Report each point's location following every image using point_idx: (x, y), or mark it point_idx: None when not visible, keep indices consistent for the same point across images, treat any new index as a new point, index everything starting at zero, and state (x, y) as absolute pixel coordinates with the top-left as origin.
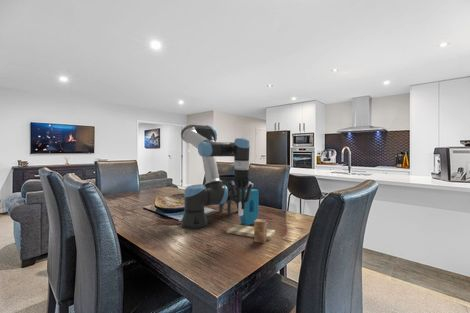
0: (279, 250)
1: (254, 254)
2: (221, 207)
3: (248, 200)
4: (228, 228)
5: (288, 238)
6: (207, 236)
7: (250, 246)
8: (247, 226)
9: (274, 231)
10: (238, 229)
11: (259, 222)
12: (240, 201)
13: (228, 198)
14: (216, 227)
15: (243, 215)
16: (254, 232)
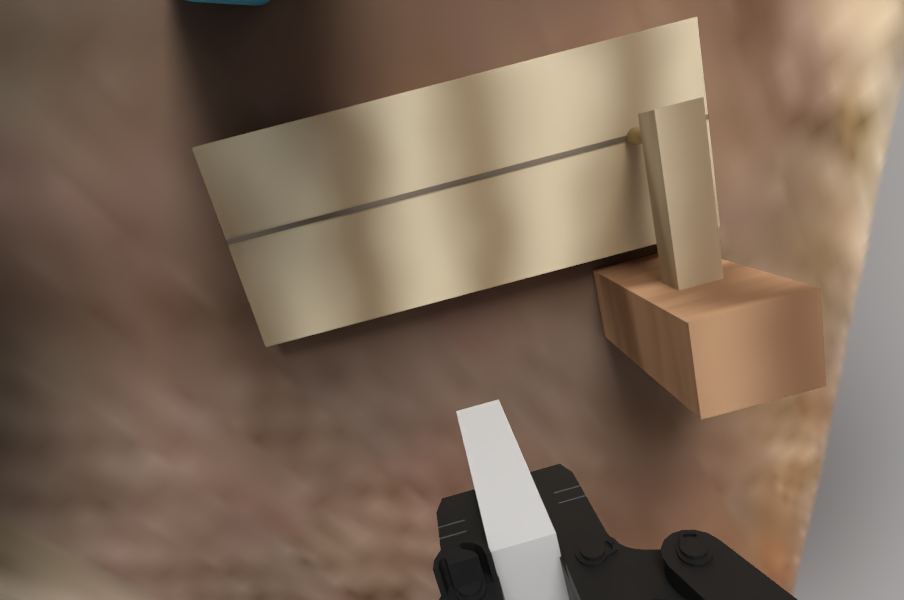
0: (834, 345)
1: (711, 499)
2: None
3: (726, 558)
4: (263, 318)
5: (831, 68)
6: (222, 505)
7: (627, 425)
8: (378, 124)
9: (697, 49)
10: (365, 271)
11: (761, 397)
12: None
13: None
14: (74, 295)
15: (206, 1)
16: (640, 364)
